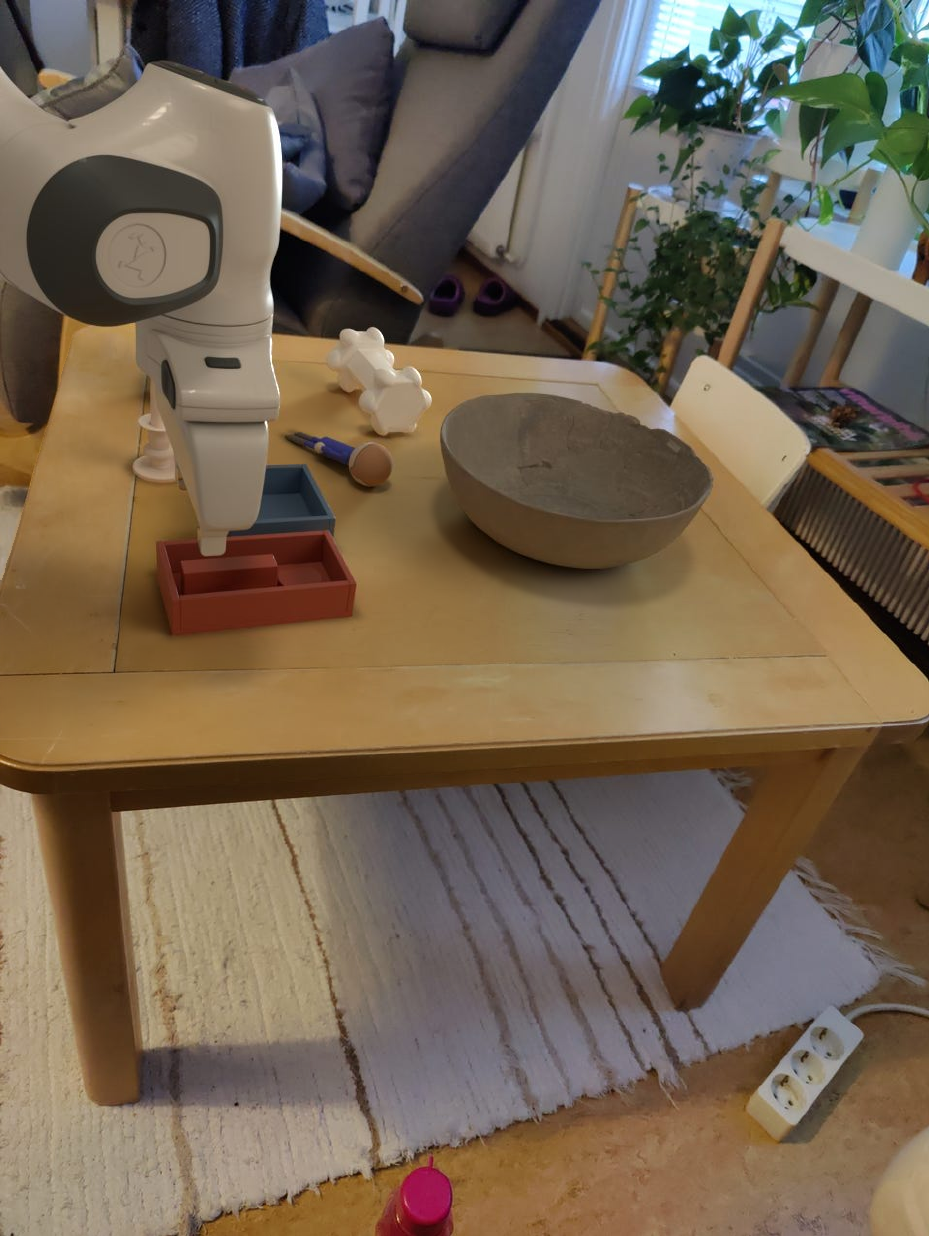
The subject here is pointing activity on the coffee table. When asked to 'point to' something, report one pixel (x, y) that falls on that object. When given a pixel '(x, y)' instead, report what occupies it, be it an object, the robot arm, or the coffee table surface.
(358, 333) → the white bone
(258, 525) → the blue bin
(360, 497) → the coffee table surface
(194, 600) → the red bin
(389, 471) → the toy
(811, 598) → the coffee table surface
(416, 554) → the coffee table surface
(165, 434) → the candle
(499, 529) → the bowl
